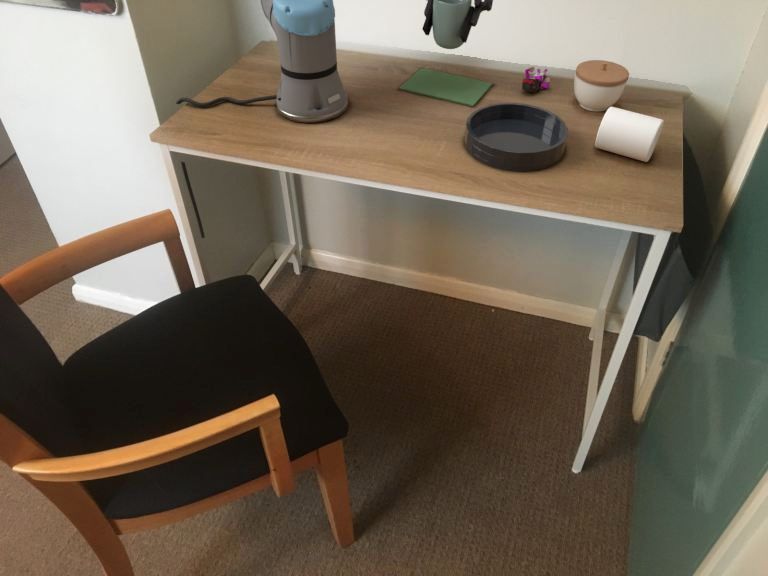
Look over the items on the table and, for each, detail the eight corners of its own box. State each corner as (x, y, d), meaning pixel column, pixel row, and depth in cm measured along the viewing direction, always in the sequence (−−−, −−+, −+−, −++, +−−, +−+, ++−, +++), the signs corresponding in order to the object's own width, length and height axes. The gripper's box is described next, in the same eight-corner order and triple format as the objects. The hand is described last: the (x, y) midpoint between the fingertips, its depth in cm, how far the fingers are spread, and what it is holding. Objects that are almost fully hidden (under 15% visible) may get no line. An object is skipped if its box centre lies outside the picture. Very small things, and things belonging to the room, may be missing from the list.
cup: (445, 35, 136) (448, -12, 129) (474, 44, 132) (479, -4, 126) (424, 46, 132) (426, -2, 125) (454, 56, 128) (457, 6, 121)
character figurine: (529, 77, 144) (515, 92, 135) (534, 55, 141) (520, 69, 132) (553, 83, 142) (540, 98, 134) (558, 61, 139) (546, 75, 131)
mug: (643, 169, 114) (656, 131, 108) (591, 154, 118) (601, 116, 112) (659, 141, 121) (673, 104, 116) (610, 128, 125) (620, 91, 119)
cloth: (399, 89, 138) (399, 87, 138) (421, 69, 145) (421, 67, 145) (473, 106, 132) (473, 105, 131) (492, 84, 139) (492, 83, 139)
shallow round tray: (449, 155, 117) (450, 137, 115) (485, 112, 130) (487, 95, 127) (547, 181, 111) (551, 162, 108) (575, 134, 123) (579, 116, 120)
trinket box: (566, 112, 130) (576, 70, 123) (570, 90, 137) (580, 49, 131) (618, 120, 127) (631, 77, 121) (620, 97, 135) (632, 55, 128)
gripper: (529, -52, 127) (493, 52, 128) (439, -64, 134) (405, 35, 135) (525, -75, 120) (487, 36, 121) (430, -87, 127) (394, 18, 128)
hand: (444, 35), depth 128 cm, fingers closed on cup, 8 cm apart
